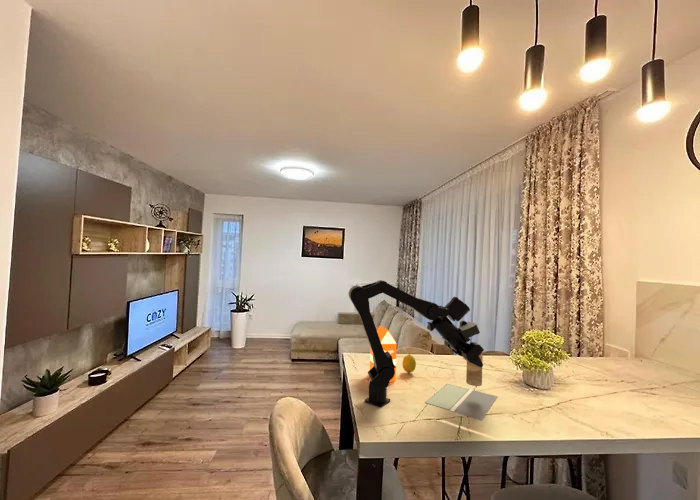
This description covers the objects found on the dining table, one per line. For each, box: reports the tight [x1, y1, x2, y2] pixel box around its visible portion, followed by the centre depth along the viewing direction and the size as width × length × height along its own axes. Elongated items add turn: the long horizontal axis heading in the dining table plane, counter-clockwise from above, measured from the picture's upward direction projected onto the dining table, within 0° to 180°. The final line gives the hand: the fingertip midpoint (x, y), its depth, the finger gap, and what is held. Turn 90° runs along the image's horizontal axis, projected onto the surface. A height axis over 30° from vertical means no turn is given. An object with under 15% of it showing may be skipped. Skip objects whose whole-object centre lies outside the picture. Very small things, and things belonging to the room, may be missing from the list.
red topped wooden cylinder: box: [465, 352, 484, 387], centre depth 109 cm, size 5×5×13 cm
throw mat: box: [424, 383, 499, 421], centre depth 108 cm, size 22×18×1 cm
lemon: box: [402, 354, 417, 374], centre depth 134 cm, size 6×6×8 cm
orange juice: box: [369, 325, 397, 383], centre depth 128 cm, size 8×9×20 cm
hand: (478, 363), depth 110 cm, fingers closed on red topped wooden cylinder, 5 cm apart
